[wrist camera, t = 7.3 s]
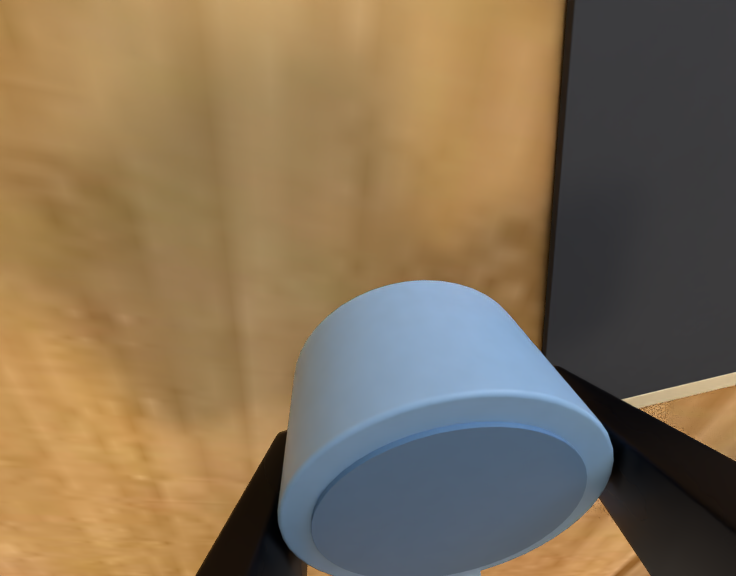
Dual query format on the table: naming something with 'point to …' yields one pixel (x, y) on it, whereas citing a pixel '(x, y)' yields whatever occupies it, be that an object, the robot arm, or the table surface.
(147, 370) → the table surface
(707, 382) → the dark gray flat panel
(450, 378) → the scoop
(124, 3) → the table surface
